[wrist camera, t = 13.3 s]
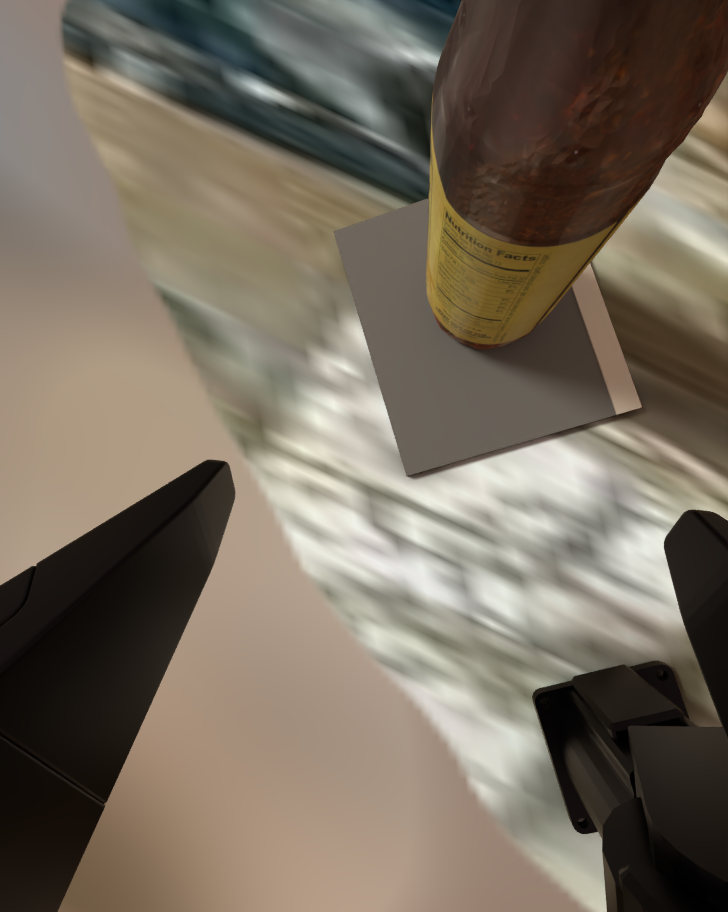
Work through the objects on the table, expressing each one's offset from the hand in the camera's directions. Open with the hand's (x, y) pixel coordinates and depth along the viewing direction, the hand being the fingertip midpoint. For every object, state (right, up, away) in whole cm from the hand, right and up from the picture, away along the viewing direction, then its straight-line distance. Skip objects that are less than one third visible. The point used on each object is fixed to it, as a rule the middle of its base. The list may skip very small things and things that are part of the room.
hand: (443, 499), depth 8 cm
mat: (+4, +8, +14) cm, 17 cm away
